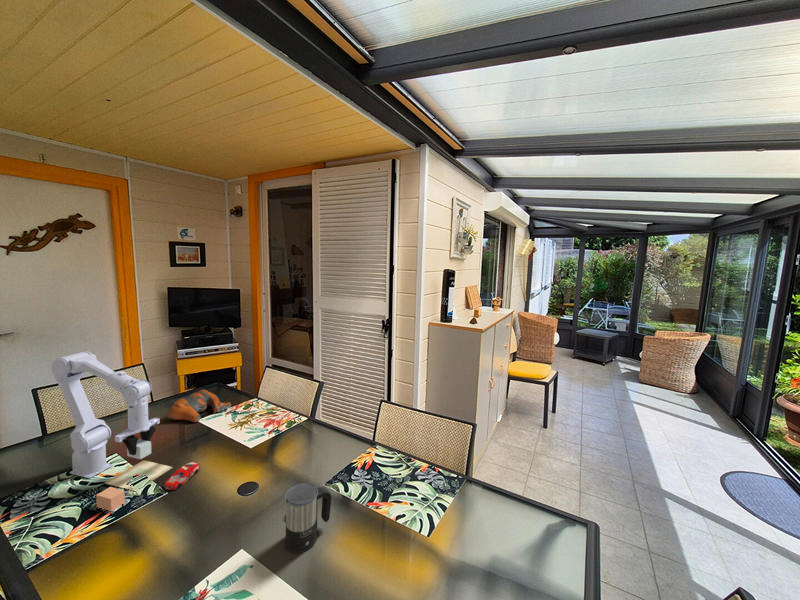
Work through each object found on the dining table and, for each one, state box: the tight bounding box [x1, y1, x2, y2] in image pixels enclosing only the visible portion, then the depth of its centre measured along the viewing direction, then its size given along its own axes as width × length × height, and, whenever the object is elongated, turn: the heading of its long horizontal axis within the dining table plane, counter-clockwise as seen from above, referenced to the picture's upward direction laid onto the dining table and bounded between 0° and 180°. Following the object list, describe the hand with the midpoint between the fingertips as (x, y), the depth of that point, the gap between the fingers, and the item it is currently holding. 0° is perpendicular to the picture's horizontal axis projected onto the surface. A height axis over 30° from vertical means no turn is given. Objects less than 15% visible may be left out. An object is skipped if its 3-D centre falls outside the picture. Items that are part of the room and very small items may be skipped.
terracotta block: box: [96, 486, 126, 512], centre depth 104 cm, size 6×4×4 cm, turn 77°
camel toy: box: [165, 389, 232, 423], centre depth 167 cm, size 25×13×17 cm
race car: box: [163, 461, 201, 491], centre depth 119 cm, size 13×5×4 cm, turn 170°
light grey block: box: [126, 438, 152, 460], centre depth 118 cm, size 6×4×4 cm, turn 76°
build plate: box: [104, 459, 174, 492], centre depth 120 cm, size 14×14×1 cm
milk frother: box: [283, 482, 332, 554], centre depth 99 cm, size 14×16×15 cm
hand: (139, 450), depth 119 cm, fingers closed on light grey block, 4 cm apart
